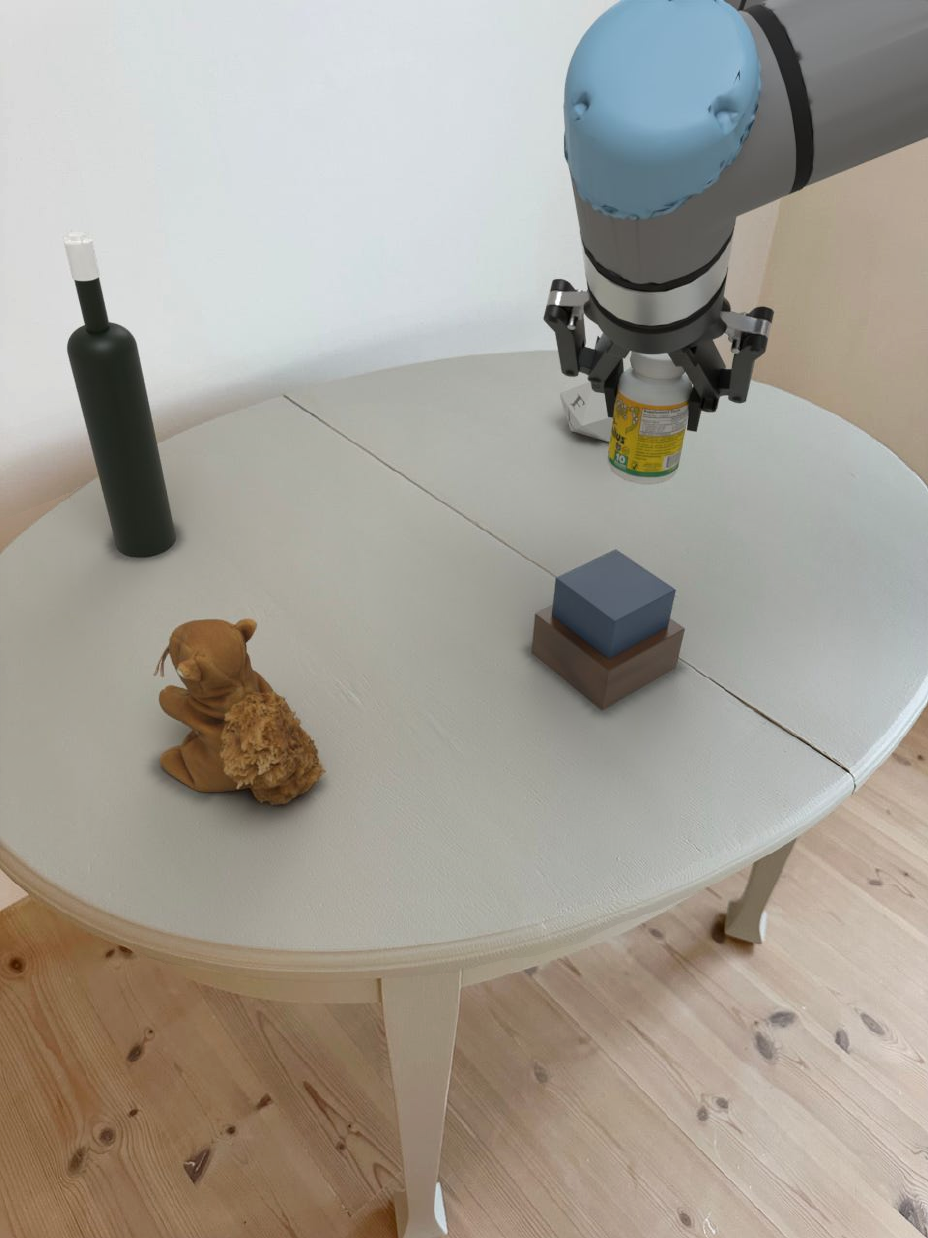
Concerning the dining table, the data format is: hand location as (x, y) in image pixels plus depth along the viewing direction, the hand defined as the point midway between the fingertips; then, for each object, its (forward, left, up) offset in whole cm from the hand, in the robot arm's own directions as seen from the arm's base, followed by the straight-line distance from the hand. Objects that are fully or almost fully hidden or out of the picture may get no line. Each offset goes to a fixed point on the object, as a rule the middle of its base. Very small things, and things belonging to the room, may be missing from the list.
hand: (655, 407), depth 73 cm
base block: (-4, +3, -22) cm, 23 cm away
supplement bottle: (-3, +2, -4) cm, 5 cm away
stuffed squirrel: (-8, +34, -22) cm, 42 cm away
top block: (-4, +3, -18) cm, 18 cm away
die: (+34, -13, -22) cm, 43 cm away
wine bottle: (+25, +40, -22) cm, 52 cm away
